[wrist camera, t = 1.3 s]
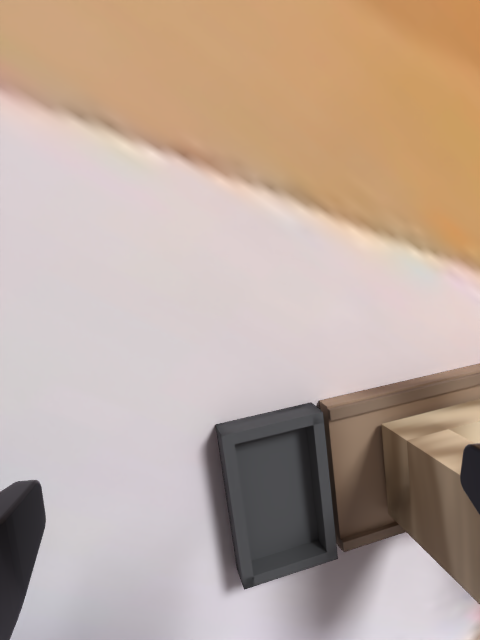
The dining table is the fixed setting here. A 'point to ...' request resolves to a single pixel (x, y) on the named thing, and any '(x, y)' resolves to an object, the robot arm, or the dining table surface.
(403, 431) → the wood grain block
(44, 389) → the dining table surface
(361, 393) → the track
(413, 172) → the dining table surface
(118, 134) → the dining table surface
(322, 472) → the tray
